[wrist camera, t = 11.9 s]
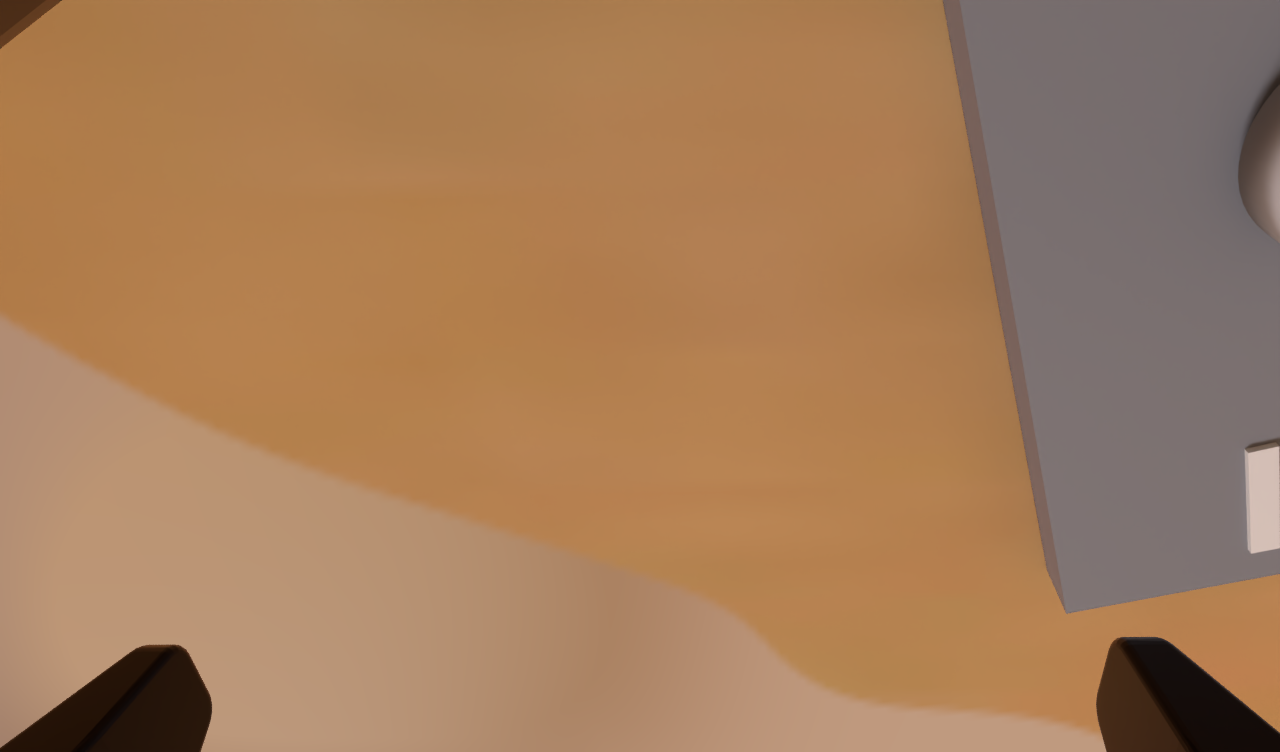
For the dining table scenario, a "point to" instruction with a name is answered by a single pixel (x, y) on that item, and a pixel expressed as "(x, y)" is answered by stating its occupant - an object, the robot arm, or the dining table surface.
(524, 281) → the dining table surface
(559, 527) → the dining table surface
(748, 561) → the dining table surface
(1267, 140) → the tuning peg
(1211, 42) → the tuner dial board
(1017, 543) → the dining table surface
